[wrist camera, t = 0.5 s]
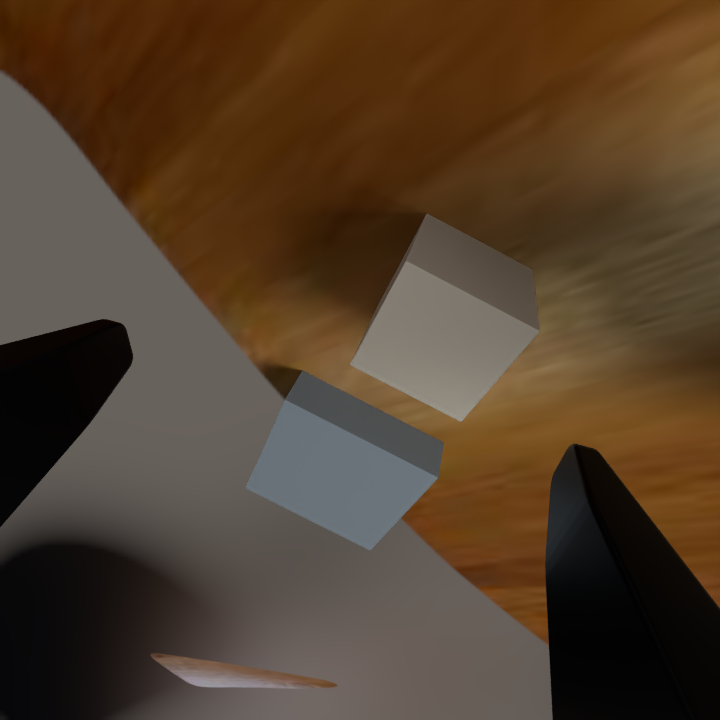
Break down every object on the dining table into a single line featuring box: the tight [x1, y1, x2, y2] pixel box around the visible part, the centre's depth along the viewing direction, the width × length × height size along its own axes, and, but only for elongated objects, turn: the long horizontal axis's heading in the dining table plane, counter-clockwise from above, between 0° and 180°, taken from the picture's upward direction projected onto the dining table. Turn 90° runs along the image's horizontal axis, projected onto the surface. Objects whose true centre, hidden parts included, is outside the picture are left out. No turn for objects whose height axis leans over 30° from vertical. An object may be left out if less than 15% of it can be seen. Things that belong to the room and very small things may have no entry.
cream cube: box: [350, 214, 540, 422], centre depth 18 cm, size 5×5×5 cm
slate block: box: [246, 371, 444, 550], centre depth 27 cm, size 9×9×3 cm
